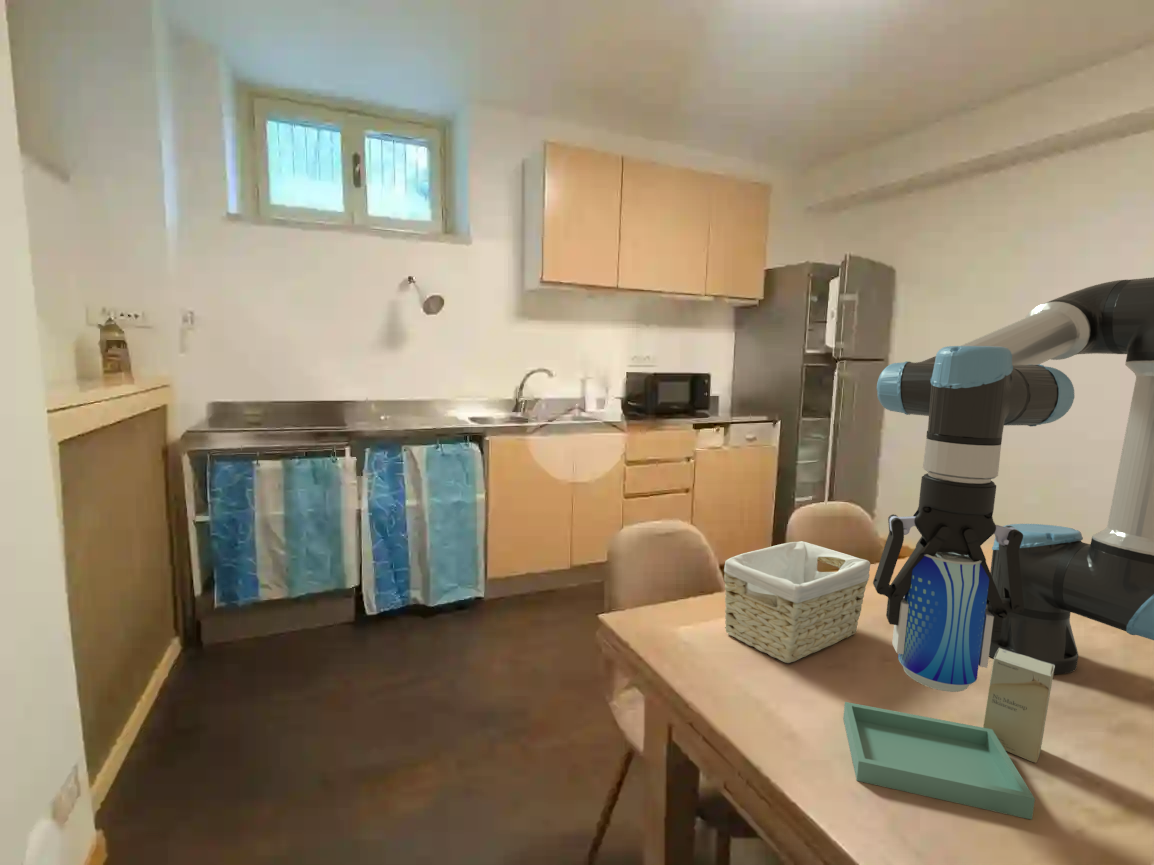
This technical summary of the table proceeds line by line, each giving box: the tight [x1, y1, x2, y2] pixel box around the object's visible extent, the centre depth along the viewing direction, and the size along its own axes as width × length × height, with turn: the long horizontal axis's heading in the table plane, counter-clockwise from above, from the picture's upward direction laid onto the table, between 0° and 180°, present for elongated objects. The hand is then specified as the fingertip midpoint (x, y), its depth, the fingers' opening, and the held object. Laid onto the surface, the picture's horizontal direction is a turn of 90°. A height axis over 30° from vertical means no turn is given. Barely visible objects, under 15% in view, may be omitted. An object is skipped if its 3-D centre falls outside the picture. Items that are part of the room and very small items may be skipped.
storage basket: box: [723, 540, 871, 664], centre depth 107 cm, size 24×16×15 cm
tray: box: [842, 701, 1036, 821], centre depth 74 cm, size 18×13×3 cm
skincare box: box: [982, 648, 1055, 764], centre depth 77 cm, size 6×4×12 cm
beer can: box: [897, 552, 989, 693], centre depth 72 cm, size 8×8×16 cm
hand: (938, 655), depth 72 cm, fingers closed on beer can, 8 cm apart
